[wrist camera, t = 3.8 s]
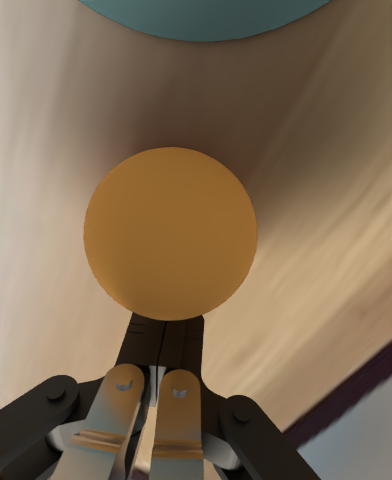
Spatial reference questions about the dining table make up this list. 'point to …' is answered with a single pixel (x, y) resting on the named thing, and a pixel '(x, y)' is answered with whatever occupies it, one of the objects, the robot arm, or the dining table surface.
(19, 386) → the dining table surface
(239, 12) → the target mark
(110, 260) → the ball
